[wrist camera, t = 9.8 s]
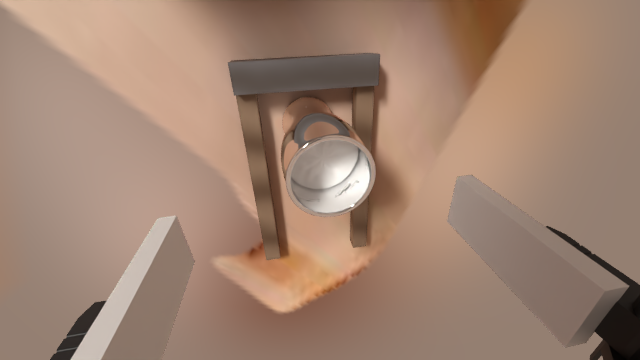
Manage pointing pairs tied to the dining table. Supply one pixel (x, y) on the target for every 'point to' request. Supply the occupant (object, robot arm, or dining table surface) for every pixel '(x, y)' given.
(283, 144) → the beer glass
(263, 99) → the dining table surface
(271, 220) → the guide track
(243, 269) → the dining table surface
